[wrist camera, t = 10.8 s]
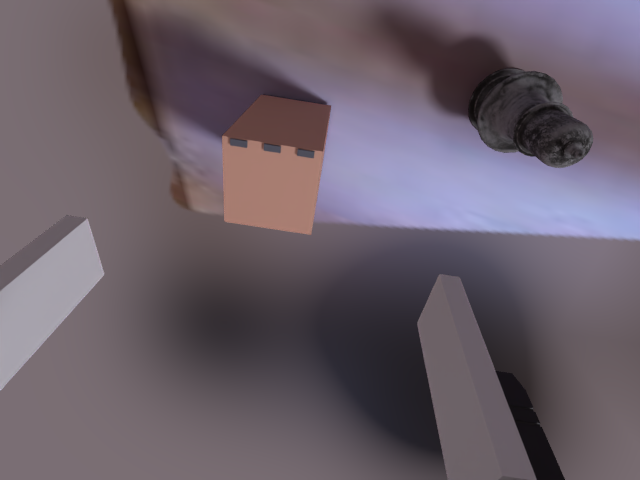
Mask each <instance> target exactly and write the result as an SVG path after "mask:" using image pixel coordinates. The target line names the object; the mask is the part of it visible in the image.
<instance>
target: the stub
mask: <svg viewBox="0 0 640 480" xmlns="http://www.w3.org/2000/svg"><path fill="white" fill-rule="evenodd" d="M330 110H331V106H330V105H324V104H317V103H311V102H305V101H299V100H292V99H286V98H280V97H273V96H267V95H260V96H259V98H258V99H257V100H256V101H255V102H254V103H253V104H252V105H251V106H250V107H249V108H248V109H247V110H246V111H245V112H244V113H243V114H242V115H241V116H240V118H239V119H238V120H237V121H236V122H235V123H234V124H233V125H232V126H231V127H230V128H229V129H228V130H227V131H226V132H225V133H224V134H223V135H222V148H223V184H224V219H225V222H230V223H237V224H243V225H250V226H257V227H263V228H269V229H276V230H283V231H289V232H296V233H302V234H309V235H311V232H312V226H313V220H314V214H315V208H316V201H317V195H318V189H319V183H320V177H321V171H322V164H323V157H324V150H325V144H326V137H327V130H328V123H329V117H330Z"/></svg>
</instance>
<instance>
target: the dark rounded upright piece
mask: <svg viewBox="0 0 640 480" xmlns="http://www.w3.org/2000/svg"><path fill="white" fill-rule="evenodd" d="M562 101H563V96H562V93H561V89H560V87H559V85H558V84H557V82H556V81H555V80H554V79H553V78H551V77H550V76H548V75H547V74H544V73H540V72H536V71H531V72H525V71H523V70H519V69H515V68H509V69H503V70H500V71H496V72H494V73H493V74H491V75H489V76H488V77H486V78H485V79H484V80H483V81H482V82H481V83H480V84H479V85H478V86H477V88H476V89H475V91H474V92H473V94H472V97H471V99H470V103H469V109H468V110H469V118H470V120H471V123H472V125H473V126H474V127H475V128H476V129H477V130H478V132H479V135H480V137H481V139H482V140H483V142H484V143H485V144H486V145H487V146H488V147H490V148H492V149H493V150H495V151H499V152H504V153H509V152H518V151H519V152H521V153H523V154H524V155H527V156H536V157H537V158H538V159H539V160H540V161H542V162H543V163H544V164H546V165H548V166H551V167H555V168H563V167H568V166H571V165H573V164H575V163H577V162H579V161H580V160H582V159H583V158H584V157H585V156H586V155H587V153H588V152H589V150H590V148H591V146H592V143H593V135H592V132H591V130H590V129H589V127H588V126H587V125H586V124H584V123H583V122H581V121H579V120H577V119H575V118H573V115H572V112H571V111H570V110H569V108H568V107H567V106H565V105H563V104H562Z"/></svg>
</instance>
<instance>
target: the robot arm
mask: <svg viewBox="0 0 640 480" xmlns="http://www.w3.org/2000/svg"><path fill="white" fill-rule="evenodd" d="M103 275H104V272H103V268H102V265H101V262H100V258H99V255H98V252H97V248H96V245H95V242H94V238H93V235H92V232H91V228H90V225H89V222H88V219H87V218H81V217H76V216H69V215H66V216H65V217H63V218H62V219H61V220H60V221H58V222H57V223H56V224H54V225H53V226H52V227H50V228H49V229H48V230H46V231H45V232H44V233H43V234H41V235H40V236H38V237H37V238H36V239H35V240H33V241H32V242H31V243H29V244H28V245H27V246H25V247H24V248H23V249H22V250H20V251H19V252H17V253H16V254H15V255H13V256H12V257H11V258H10V259H8V260H7V261H6V262H4V263H3V264H2V265H0V390H1V389H2V388H3V387H4V386H5V385H6V384H7V383H8V382H9V380H10V379H11V378H12V377H13V376H14V375H15V374H16V372H18V370H19V369H20V368H21V367H22V366H23V365H24V364H25V363H26V361H27V360H28V359H29V358H30V357H31V356H32V355H33V354H34V353H35V351H36V350H37V349H38V348H39V347H40V346H41V345H42V344H43V342H44V341H45V340H46V339H47V338H48V337H49V336H50V335H51V334H52V332H53V331H54V330H55V329H56V328H57V327H58V326H59V325H60V323H61V322H62V321H63V320H64V319H65V318H66V316H68V315H69V314H70V312H71V311H72V310H73V309H74V308H75V307H76V306H77V305H78V303H79V302H80V301H81V300H82V299H83V298H84V297H85V296H86V295H87V293H88V292H89V291H90V290H91V289H92V288H93V287H94V286H95V284H96V283H97V282H98V281H99V280H100V279H101V278H102V276H103ZM417 324H418V330H419V335H420V340H421V345H422V350H423V355H424V360H425V366H426V371H427V376H428V381H429V386H430V391H431V396H432V401H433V406H434V411H435V416H436V421H437V426H438V431H439V436H440V441H441V447H442V452H443V457H444V462H445V467H446V472H447V477H448V480H565V479H564V477H563V474H562V472H561V470H560V467H559V465H558V463H557V460H556V458H555V456H554V454H553V451H552V449H551V447H550V445H549V443H548V440H547V438H546V436H545V433H544V431H543V429H542V427H540V422H539V420H538V417H537V415H536V413H535V412H534V411H533V406H532V404H531V401H530V399H529V397H528V395H527V392H526V390H525V389H524V388H523V387H522V385H521V384H520V383H519V381H518V380H517V379H516V378H515V377H514V375H513V374H512V373H506V372H499V371H495V369H494V366H493V364H492V361H491V358H490V356H489V353H488V351H487V348H486V345H485V343H484V340H483V337H482V335H481V332H480V330H479V327H478V324H477V322H476V319H475V316H474V314H473V312H472V309H471V306H470V304H469V301H468V298H467V295H466V293H465V290H464V288H463V285H462V283H461V280H460V278H459V277H454V276H448V275H442V274H440V275H439V276H438V278H437V281H436V283H435V285H434V287H433V289H432V292H431V294H430V296H429V298H428V301H427V303H426V305H425V307H424V309H423V312H422V314H421V316H420V318H419V320H418V323H417Z"/></svg>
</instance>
